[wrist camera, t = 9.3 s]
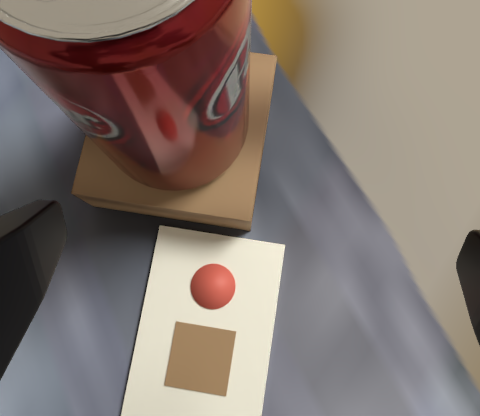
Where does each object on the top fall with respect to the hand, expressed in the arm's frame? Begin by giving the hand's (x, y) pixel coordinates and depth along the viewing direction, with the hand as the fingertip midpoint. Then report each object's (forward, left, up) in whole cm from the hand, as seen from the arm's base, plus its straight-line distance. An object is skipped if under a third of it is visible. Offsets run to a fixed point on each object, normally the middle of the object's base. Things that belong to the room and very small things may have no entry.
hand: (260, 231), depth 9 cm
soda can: (+6, +5, -11) cm, 13 cm away
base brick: (+7, +5, -14) cm, 16 cm away
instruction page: (-3, +2, -14) cm, 14 cm away
